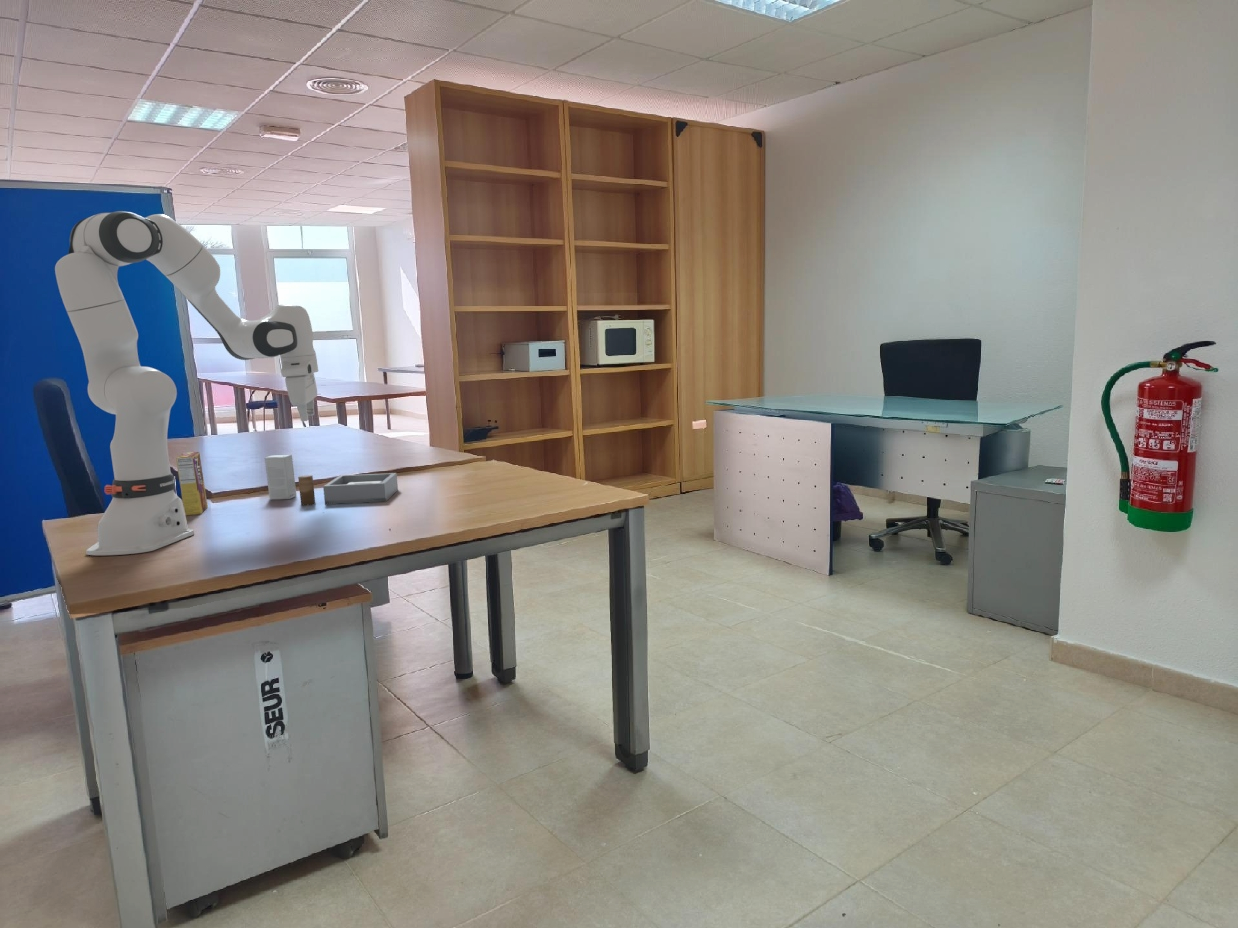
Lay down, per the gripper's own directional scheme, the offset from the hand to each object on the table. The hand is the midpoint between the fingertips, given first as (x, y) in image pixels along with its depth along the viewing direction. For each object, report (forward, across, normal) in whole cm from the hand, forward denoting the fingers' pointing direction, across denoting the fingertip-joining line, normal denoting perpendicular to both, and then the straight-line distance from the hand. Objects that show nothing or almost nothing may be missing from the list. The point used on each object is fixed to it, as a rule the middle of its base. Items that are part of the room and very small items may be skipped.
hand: (307, 418), depth 213 cm
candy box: (+22, +3, -31) cm, 38 cm away
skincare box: (+23, -7, -11) cm, 26 cm away
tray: (+23, 0, +11) cm, 26 cm away
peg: (+22, +4, -3) cm, 23 cm away
